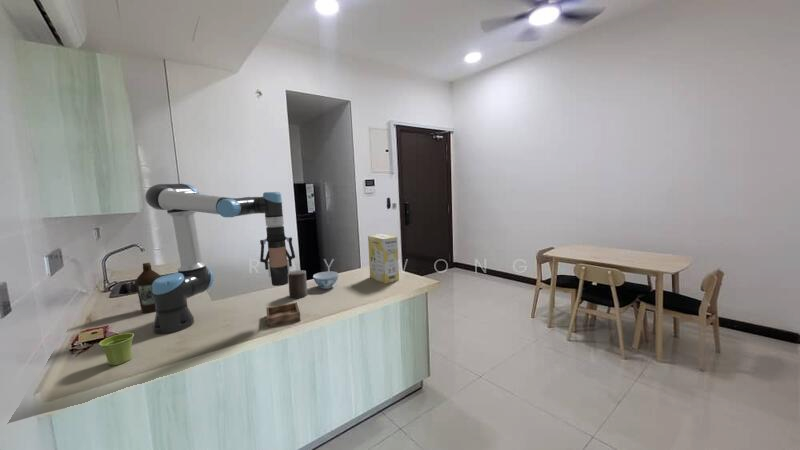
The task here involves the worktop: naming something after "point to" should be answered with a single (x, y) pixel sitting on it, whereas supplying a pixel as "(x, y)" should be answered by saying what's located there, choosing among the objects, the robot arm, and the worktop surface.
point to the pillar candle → (297, 284)
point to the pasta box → (383, 258)
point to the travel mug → (278, 263)
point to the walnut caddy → (282, 314)
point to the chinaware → (325, 279)
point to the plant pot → (118, 348)
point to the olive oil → (146, 288)
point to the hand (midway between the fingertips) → (279, 274)
